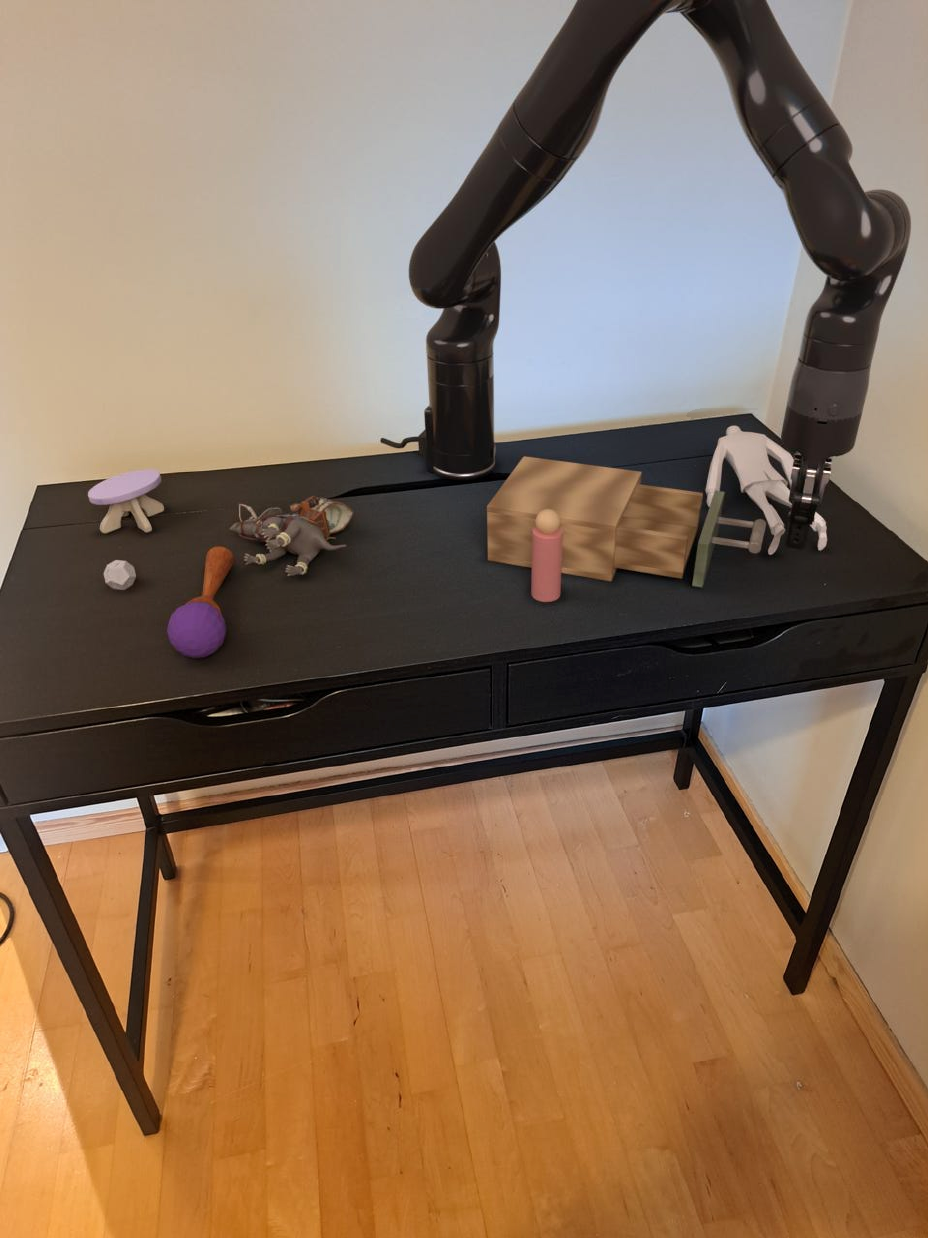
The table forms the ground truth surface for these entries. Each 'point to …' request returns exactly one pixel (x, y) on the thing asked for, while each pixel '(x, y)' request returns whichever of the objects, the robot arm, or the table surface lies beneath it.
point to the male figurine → (758, 477)
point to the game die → (119, 575)
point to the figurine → (295, 530)
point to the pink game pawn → (546, 556)
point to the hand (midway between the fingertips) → (794, 545)
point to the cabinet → (561, 513)
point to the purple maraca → (202, 611)
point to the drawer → (674, 532)
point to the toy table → (127, 498)
